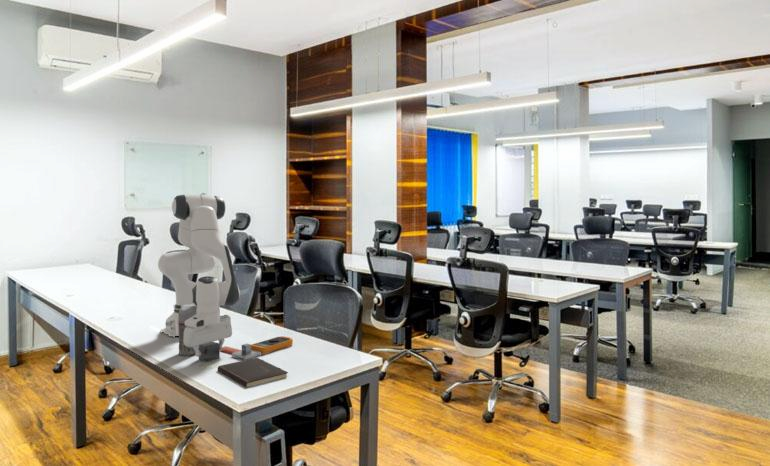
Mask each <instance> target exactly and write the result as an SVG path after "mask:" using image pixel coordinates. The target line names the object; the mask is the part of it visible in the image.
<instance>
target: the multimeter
mask: <svg viewBox="0 0 770 466" xmlns="http://www.w3.org/2000/svg"><path fill="white" fill-rule="evenodd" d="M292 345H293V338H292V337H289V336H285V335H281V336H276V337H274V338H273V337H272V338H270V339H266V340H263V341H262V340H261V341H260V342H256V343H251V350H255V351H259V352H261V355H266V354H269V353H271V352H275V351H278V350H281V349H285V348H287V347H288V346H289V347H292Z"/></svg>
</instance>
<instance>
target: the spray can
mask: <svg viewBox="0 0 770 466" xmlns="http://www.w3.org/2000/svg"><path fill="white" fill-rule="evenodd" d="M196 310H197V305H195V304H189V305H182V306H181V308H180V310H179V337H178V354H179V355H180V356H186V355H187V357H188V356H194V355H195V356H196V352H195V350H194V349H193V347H187V346H185V345H184V342H183V336H184V329H185V328H186V327H187V326H185V321H186V320H187V319H189V318H191V317H192V316H194V315H195V314H196ZM198 349H199V348H198Z"/></svg>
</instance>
